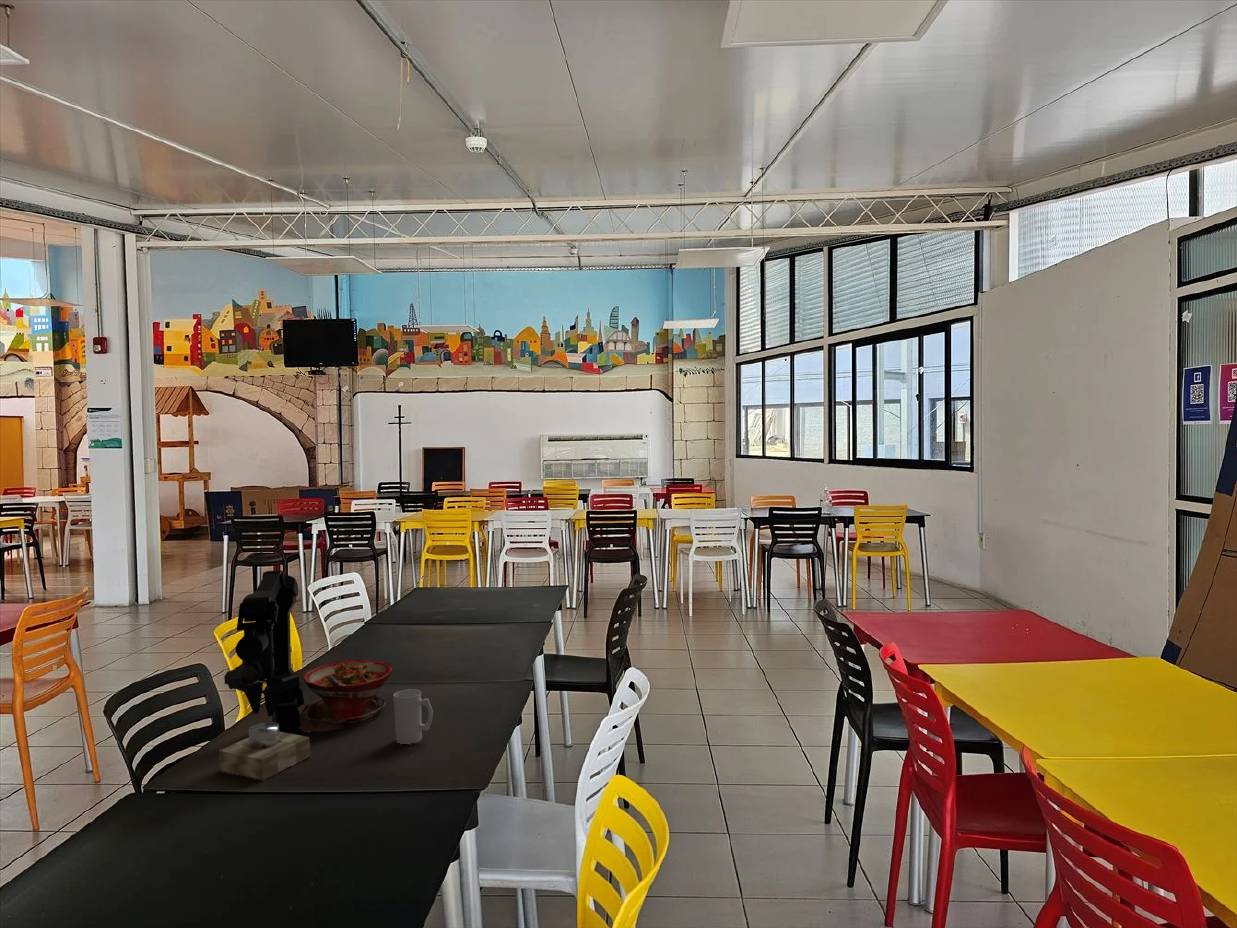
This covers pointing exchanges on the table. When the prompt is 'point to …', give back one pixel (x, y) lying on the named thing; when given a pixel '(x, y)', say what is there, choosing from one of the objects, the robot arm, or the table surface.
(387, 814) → the table surface
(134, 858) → the table surface
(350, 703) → the stew
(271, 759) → the hitch block
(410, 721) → the mug
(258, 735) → the pin
